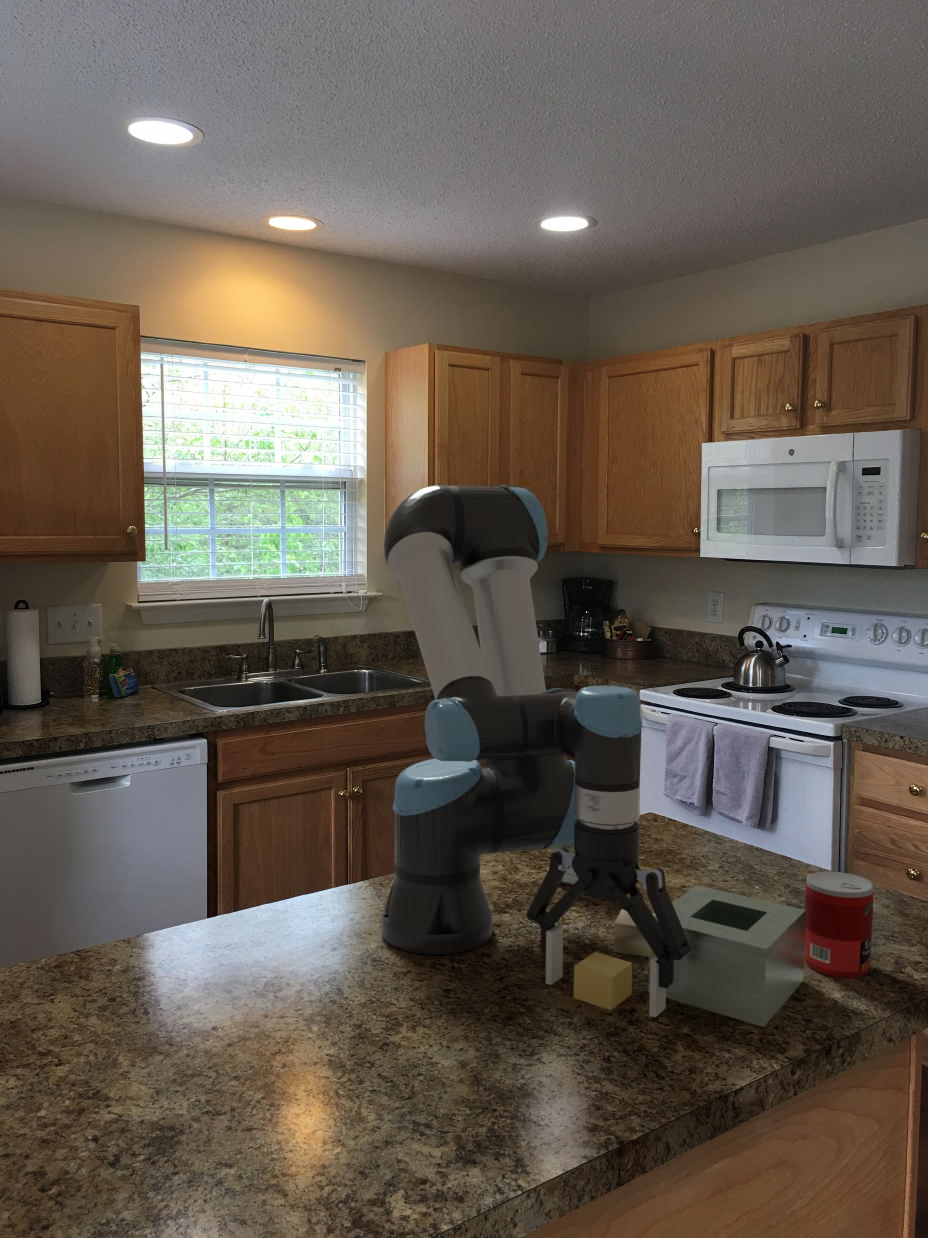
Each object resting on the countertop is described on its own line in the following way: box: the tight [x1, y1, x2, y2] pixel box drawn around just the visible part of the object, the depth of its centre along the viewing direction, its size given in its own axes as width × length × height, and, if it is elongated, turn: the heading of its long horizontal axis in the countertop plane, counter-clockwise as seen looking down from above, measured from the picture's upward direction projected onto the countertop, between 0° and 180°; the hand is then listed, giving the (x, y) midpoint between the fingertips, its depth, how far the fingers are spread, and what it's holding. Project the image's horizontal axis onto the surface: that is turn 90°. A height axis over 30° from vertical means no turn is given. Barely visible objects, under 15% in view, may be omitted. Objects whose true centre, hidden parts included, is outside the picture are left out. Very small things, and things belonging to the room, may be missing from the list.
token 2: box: [613, 908, 655, 958], centre depth 132 cm, size 5×5×4 cm
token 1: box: [573, 951, 633, 1011], centre depth 118 cm, size 5×5×4 cm
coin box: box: [647, 885, 806, 1028], centre depth 121 cm, size 14×14×9 cm
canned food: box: [804, 871, 875, 979], centre depth 127 cm, size 8×8×11 cm
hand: (604, 996), depth 118 cm, fingers open, 13 cm apart
